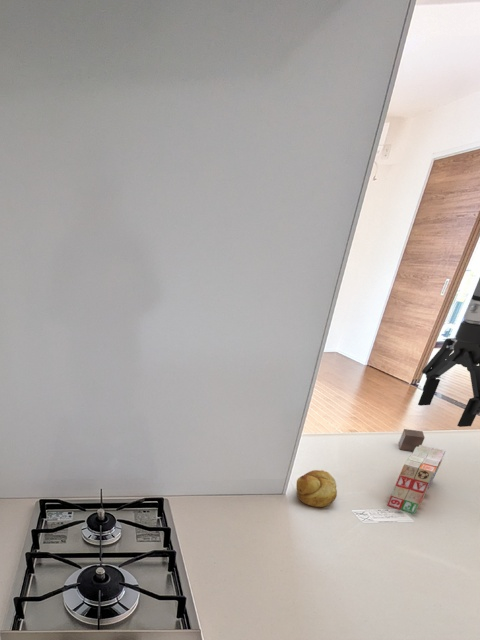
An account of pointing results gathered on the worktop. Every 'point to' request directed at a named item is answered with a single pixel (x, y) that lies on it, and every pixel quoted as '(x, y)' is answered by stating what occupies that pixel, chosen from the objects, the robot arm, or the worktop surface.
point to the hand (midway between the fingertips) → (442, 415)
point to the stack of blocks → (416, 478)
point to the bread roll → (316, 488)
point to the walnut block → (411, 439)
